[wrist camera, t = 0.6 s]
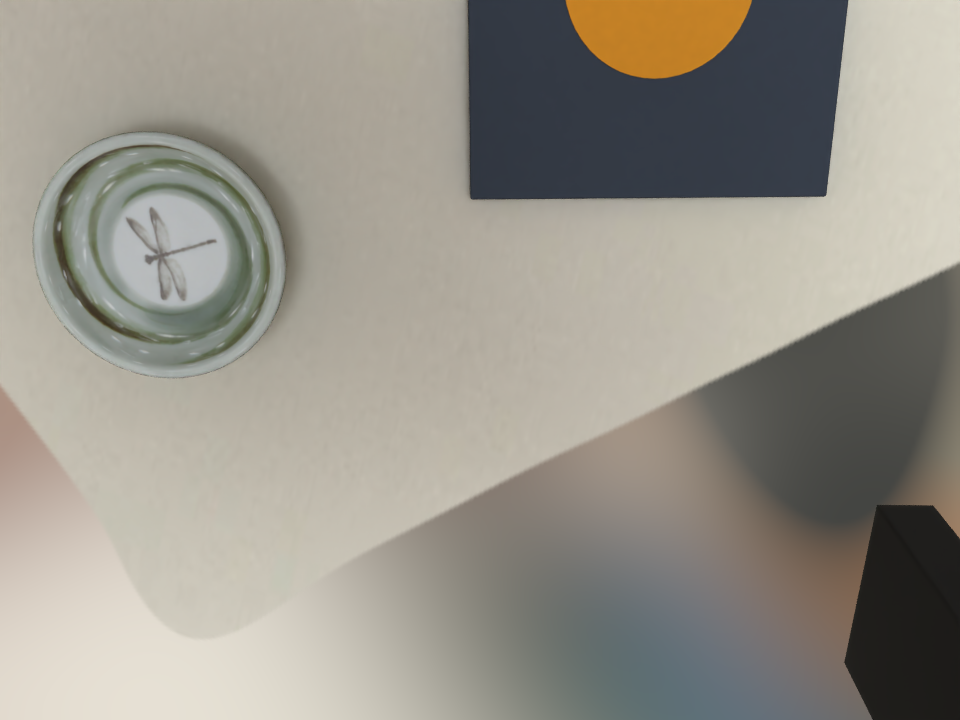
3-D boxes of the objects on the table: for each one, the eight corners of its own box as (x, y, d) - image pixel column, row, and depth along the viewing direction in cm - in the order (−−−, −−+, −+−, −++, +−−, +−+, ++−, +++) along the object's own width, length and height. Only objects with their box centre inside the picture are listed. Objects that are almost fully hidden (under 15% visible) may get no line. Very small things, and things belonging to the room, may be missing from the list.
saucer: (340, 295, 38) (330, 311, 36) (146, 397, 40) (126, 419, 37) (211, 81, 35) (193, 83, 33) (9, 199, 37) (-22, 209, 35)
